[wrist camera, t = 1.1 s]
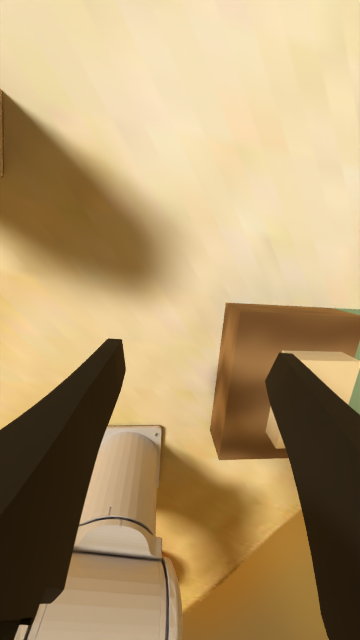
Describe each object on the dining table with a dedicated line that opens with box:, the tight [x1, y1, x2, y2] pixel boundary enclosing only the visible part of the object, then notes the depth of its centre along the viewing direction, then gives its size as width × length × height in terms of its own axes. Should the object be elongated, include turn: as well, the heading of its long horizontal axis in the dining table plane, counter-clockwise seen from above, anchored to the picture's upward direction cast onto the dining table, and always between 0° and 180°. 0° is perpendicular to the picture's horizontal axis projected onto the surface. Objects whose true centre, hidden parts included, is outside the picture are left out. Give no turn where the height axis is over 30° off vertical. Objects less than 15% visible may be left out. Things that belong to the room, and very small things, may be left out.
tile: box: [266, 350, 360, 449], centre depth 19 cm, size 9×6×2 cm, turn 176°
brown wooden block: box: [210, 303, 360, 460], centre depth 22 cm, size 16×12×4 cm
